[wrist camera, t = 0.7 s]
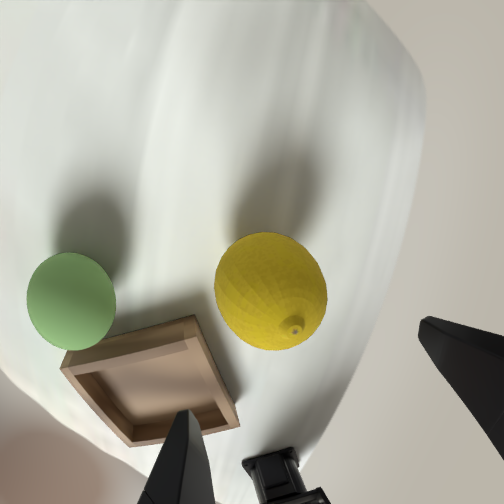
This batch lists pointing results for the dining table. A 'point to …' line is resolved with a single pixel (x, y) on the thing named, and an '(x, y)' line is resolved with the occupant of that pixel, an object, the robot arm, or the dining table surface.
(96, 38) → the dining table surface
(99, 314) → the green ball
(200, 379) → the walnut tray
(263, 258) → the lemon
